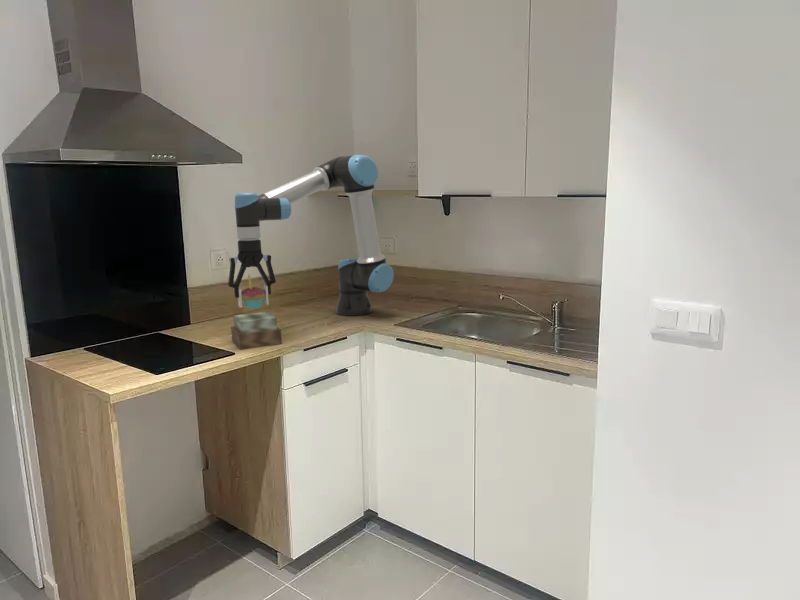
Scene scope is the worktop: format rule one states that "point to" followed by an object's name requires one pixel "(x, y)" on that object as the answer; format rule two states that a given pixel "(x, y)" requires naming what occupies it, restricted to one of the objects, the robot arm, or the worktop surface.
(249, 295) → the cupcake
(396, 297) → the worktop surface
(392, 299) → the worktop surface
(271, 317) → the block tower
